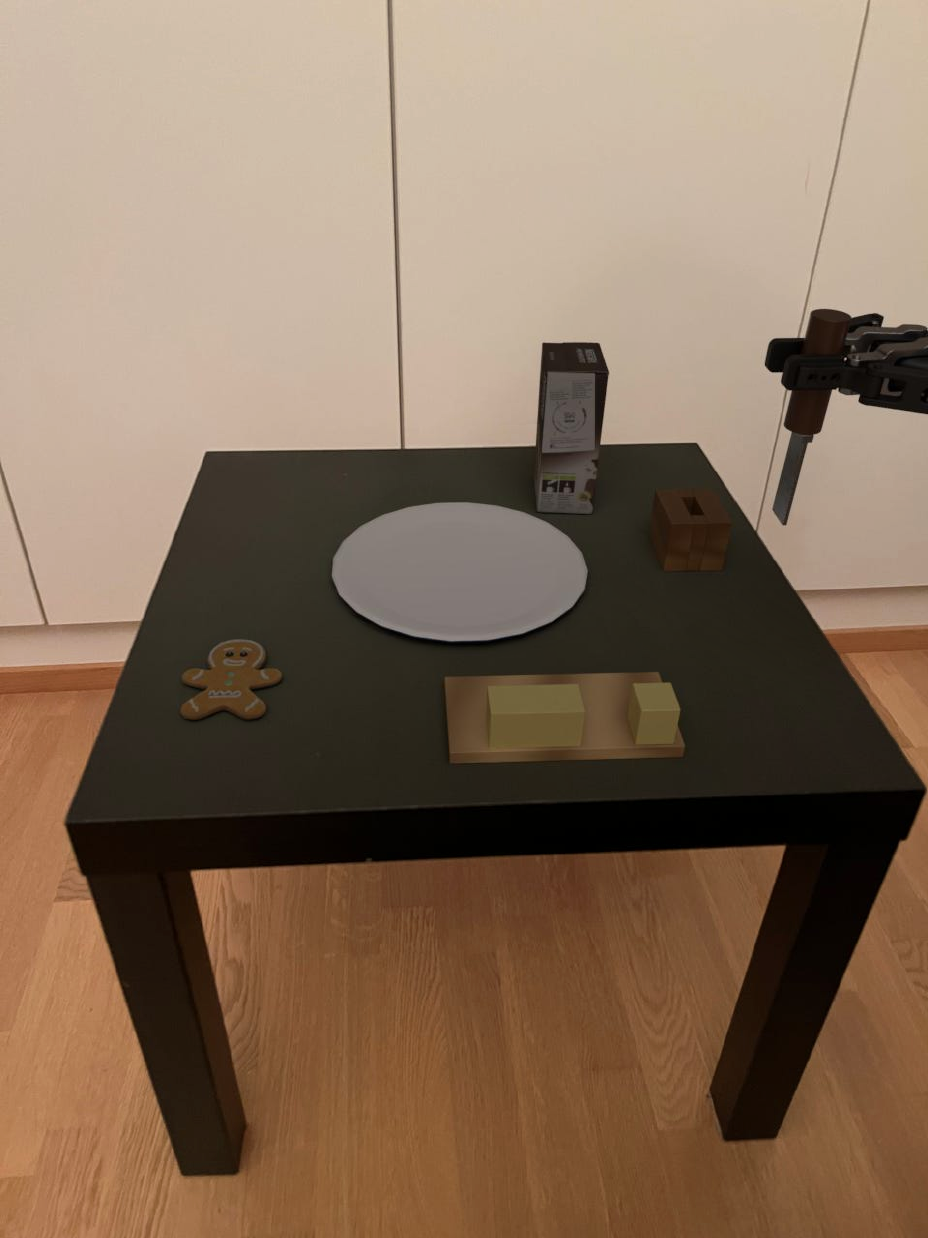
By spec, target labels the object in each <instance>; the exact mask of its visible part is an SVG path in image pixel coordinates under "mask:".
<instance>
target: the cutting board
mask: <svg viewBox="0 0 928 1238" xmlns="http://www.w3.org/2000/svg"><path fill="white" fill-rule="evenodd" d="M443 682H444V683H443V689H444V702H445V705H444V706H445V719H446V730H447V731H446V735H447V746H448V748H447V749H448V763H449V764H450V765H453V764H454V765H455V764H456V765H457V764H488V763H520V762H521V763H524V762H555V761H557V762H559V761H561V762H562V761H563V762H564V761H593V760H594V761H595V760H627V759H628V760H630V759H631V760H632V759H664V758H665V759H666V758H683V757H684V753H685V748H686V745H685V741H684V739H683V736H682V733H681V730H680V728H679V725H677V730H676V735H675V740H674V743H673V744H641V745H636V744H635V741H634V738H633V734H632V731H631V728H630V724H629V721H628V718H627V716H628V710H629V703H630V697H631V691H632V685H633V683H663V681H662V677H661V675H660V671H645V672H643V671H642V672H638V671H637V672H602V673H597V672H596V673H594V672H593V673H559V674H557V673H554V674H515V675H513V674H512V675H511V674H510V675H472V676H444V680H443ZM557 684H578V685H579V689H580V693H581V697H582V701H583V705H584V709H585V716H584V724H583V732H582V740H581V746H556V747H520V748H489V743H488V734H487V726H486V706H487V687H488V686H515V685H557Z"/></svg>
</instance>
